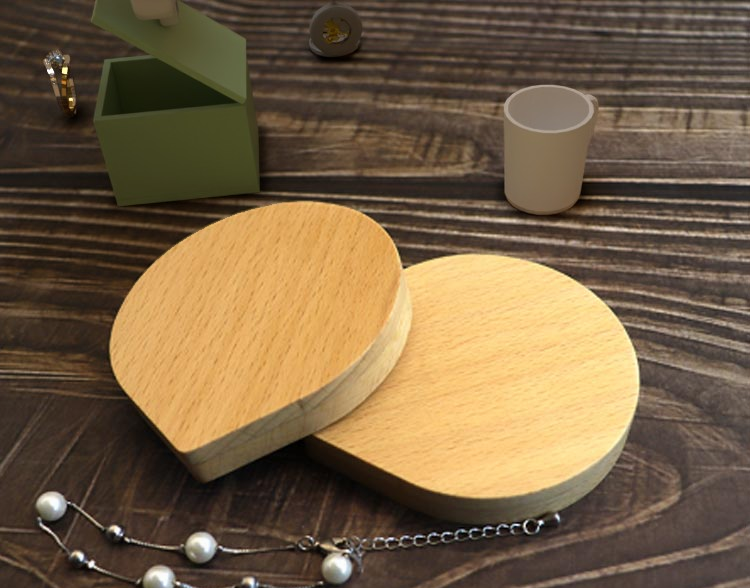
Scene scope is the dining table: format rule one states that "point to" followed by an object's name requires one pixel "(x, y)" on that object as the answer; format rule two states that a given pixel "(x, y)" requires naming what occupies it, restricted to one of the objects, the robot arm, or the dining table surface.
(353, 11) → the pocket watch
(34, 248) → the dining table surface
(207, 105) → the chest
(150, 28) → the lid
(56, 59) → the ring
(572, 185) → the mug
